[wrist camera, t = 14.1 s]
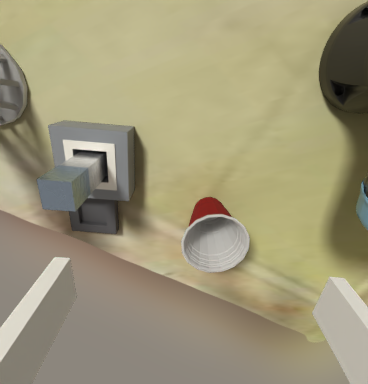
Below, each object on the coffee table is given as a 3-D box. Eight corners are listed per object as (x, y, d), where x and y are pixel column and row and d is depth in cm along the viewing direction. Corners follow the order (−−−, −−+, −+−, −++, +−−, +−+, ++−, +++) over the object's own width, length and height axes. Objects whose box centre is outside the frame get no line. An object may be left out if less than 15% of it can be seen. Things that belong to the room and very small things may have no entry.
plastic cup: (246, 200, 45) (265, 237, 34) (216, 238, 49) (224, 282, 39) (200, 174, 43) (205, 204, 32) (172, 216, 47) (168, 255, 36)
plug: (87, 146, 40) (36, 179, 26) (110, 148, 40) (71, 182, 27) (89, 168, 42) (42, 209, 28) (111, 170, 42) (75, 211, 28)
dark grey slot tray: (70, 186, 44) (65, 190, 43) (117, 190, 45) (114, 194, 43) (76, 225, 48) (71, 230, 47) (118, 228, 49) (116, 233, 47)
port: (64, 120, 39) (46, 125, 34) (134, 126, 39) (126, 132, 35) (73, 184, 44) (59, 196, 39) (134, 189, 45) (128, 202, 40)
